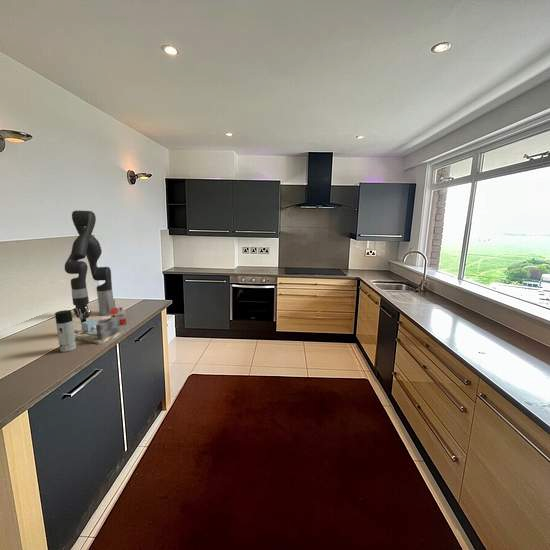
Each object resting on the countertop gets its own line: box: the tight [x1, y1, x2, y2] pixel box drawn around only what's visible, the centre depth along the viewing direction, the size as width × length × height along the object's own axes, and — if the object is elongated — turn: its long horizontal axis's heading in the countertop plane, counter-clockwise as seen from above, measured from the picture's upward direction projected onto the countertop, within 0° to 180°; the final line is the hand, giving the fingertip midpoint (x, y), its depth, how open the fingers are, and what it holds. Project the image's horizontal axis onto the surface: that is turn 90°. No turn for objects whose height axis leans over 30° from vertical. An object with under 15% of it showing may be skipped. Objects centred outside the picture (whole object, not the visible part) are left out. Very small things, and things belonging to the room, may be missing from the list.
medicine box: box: [110, 306, 127, 326], centre depth 186 cm, size 15×8×8 cm, turn 31°
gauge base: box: [74, 318, 125, 345], centre depth 165 cm, size 16×26×10 cm, turn 68°
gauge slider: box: [77, 319, 99, 334], centre depth 164 cm, size 10×6×6 cm, turn 158°
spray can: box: [54, 309, 77, 353], centre depth 146 cm, size 7×7×20 cm
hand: (84, 324), depth 168 cm, fingers closed
